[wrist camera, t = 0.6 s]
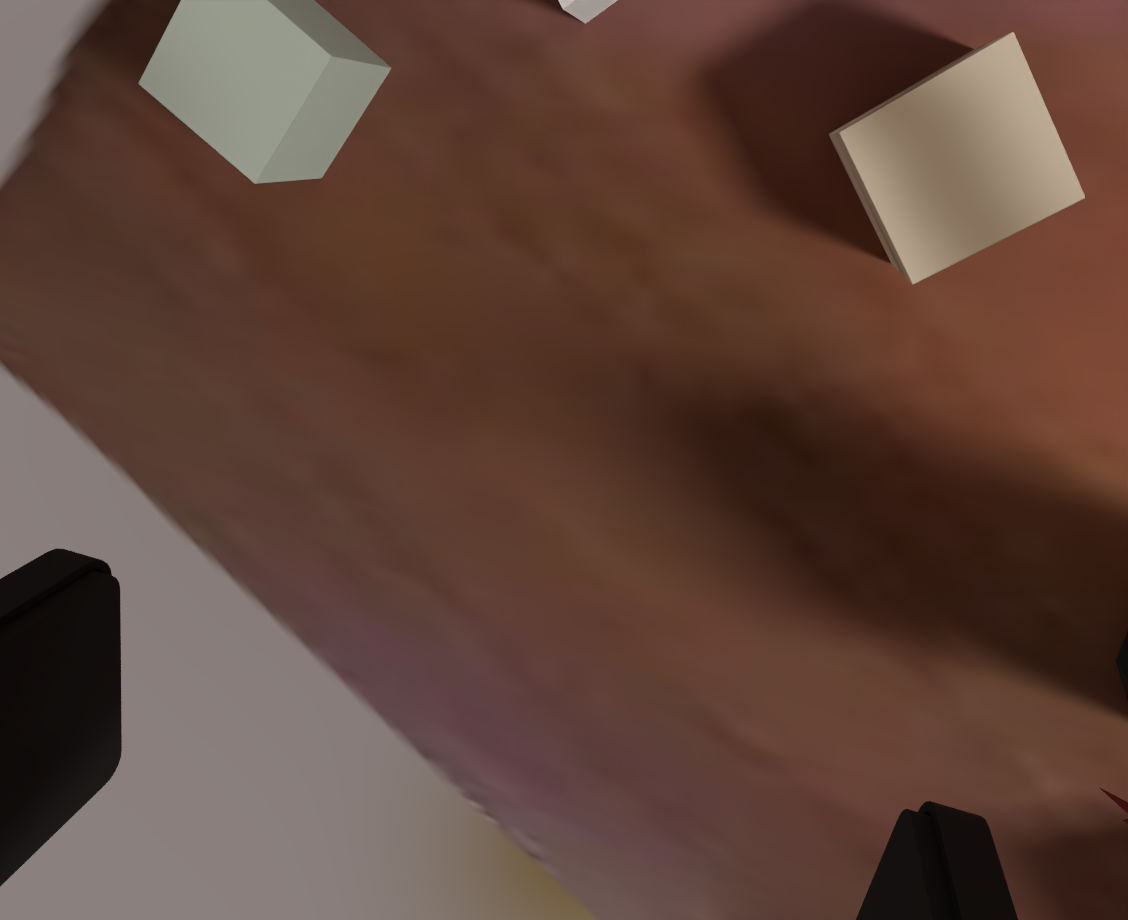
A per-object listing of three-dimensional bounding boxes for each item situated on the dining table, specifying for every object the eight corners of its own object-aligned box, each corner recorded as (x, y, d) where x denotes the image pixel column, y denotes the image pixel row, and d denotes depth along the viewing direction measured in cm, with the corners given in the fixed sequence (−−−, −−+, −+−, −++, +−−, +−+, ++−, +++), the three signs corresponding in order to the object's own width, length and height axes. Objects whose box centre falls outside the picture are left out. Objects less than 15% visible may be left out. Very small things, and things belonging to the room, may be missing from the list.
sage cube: (286, -25, 32) (207, -52, 28) (392, 68, 33) (331, 56, 28) (222, 91, 34) (138, 83, 30) (322, 178, 35) (255, 183, 30)
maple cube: (973, 49, 29) (1013, 31, 24) (1035, 189, 30) (1085, 197, 25) (827, 134, 30) (839, 132, 26) (891, 263, 31) (912, 284, 27)
